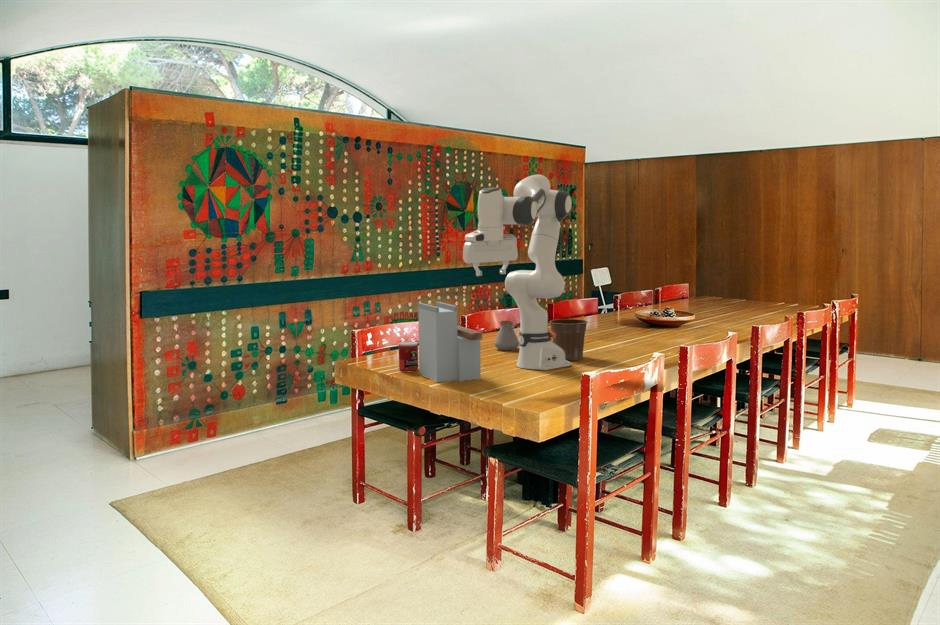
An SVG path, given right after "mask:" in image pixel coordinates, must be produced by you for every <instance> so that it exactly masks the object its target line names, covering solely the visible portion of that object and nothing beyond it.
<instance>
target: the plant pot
mask: <svg viewBox="0 0 940 625" xmlns="http://www.w3.org/2000/svg"><path fill="white" fill-rule="evenodd" d="M548 322H549V324H550V330H551V333H556V337H555V338H553V337H552V341H553V342H554V343H555V344H557V345H558V346H559V347H560V348H562V349H563V351H564V353H565V360H567V361H578V360H581V359H583V356H584V345H585V336H586V335H585V334H586V331H587V324H588V322H589V321H588V320H586V319H585V320H584V319H581V318H579V319H578V318H561V319H552V320H550V321H548Z"/></svg>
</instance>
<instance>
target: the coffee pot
mask: <svg viewBox="0 0 940 625" xmlns="http://www.w3.org/2000/svg"><path fill="white" fill-rule="evenodd" d="M514 323H515V322H514V321H512V320H502V321H499V324H500V326H501V327H500V328H499V331H498V333H497V335H496V338H495V340H494V342H493V344H494V345H495V348H497V349H498V351H502V350H512V351H515V350H516V349H517V348H518V347H519V346H520V344H519V338H518V337H517V334H516V332H515V330H514V328H517V327H520V322H519V323H516V324H515V325H513V324H514ZM514 349H515V350H514Z"/></svg>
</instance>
